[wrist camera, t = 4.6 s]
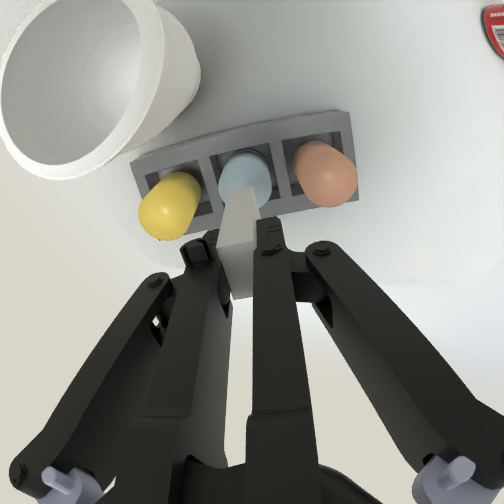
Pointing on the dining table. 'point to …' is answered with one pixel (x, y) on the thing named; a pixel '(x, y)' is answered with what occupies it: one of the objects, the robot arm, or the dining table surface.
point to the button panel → (242, 137)
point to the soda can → (495, 26)
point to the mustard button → (170, 206)
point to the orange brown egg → (324, 173)
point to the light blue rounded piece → (246, 175)
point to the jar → (92, 83)
